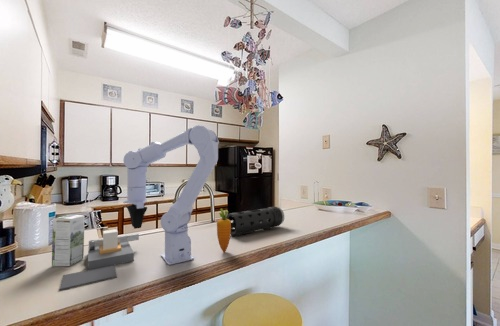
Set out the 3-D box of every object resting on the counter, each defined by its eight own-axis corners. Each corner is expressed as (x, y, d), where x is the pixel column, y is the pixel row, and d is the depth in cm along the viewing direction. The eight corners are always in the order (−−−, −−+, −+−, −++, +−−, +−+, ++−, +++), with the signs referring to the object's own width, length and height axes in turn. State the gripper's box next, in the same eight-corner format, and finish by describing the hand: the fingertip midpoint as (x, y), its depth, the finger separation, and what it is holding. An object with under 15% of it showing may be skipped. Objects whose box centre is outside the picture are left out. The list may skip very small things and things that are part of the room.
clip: (138, 242, 84) (138, 234, 84) (88, 250, 76) (88, 242, 76) (137, 241, 86) (138, 233, 86) (88, 249, 77) (88, 240, 77)
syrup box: (66, 259, 76) (67, 214, 76) (84, 259, 76) (84, 214, 76) (51, 266, 70) (51, 218, 70) (70, 266, 70) (70, 218, 70)
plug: (121, 257, 76) (121, 231, 77) (99, 261, 73) (99, 234, 73) (119, 251, 81) (119, 228, 82) (99, 255, 78) (99, 230, 78)
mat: (116, 277, 63) (116, 275, 63) (59, 290, 56) (59, 289, 56) (114, 265, 70) (114, 264, 70) (63, 276, 63) (63, 275, 63)
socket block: (133, 260, 74) (133, 252, 74) (87, 270, 67) (87, 261, 67) (127, 246, 87) (127, 240, 87) (88, 253, 80) (88, 246, 80)
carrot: (232, 253, 79) (232, 209, 80) (218, 255, 78) (217, 210, 78) (229, 249, 84) (229, 207, 84) (215, 250, 83) (215, 208, 83)
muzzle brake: (225, 234, 103) (225, 211, 103) (272, 225, 120) (272, 205, 120) (236, 239, 95) (236, 214, 96) (285, 229, 112) (285, 207, 112)
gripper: (121, 186, 83) (120, 224, 83) (126, 189, 71) (126, 233, 71) (142, 185, 87) (142, 221, 87) (150, 187, 75) (150, 230, 75)
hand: (136, 227), depth 79 cm, fingers open, 3 cm apart
